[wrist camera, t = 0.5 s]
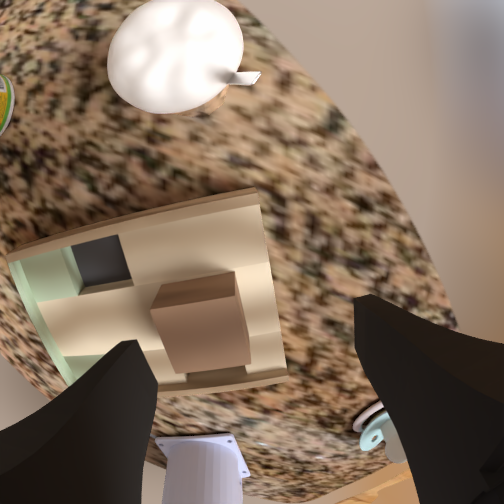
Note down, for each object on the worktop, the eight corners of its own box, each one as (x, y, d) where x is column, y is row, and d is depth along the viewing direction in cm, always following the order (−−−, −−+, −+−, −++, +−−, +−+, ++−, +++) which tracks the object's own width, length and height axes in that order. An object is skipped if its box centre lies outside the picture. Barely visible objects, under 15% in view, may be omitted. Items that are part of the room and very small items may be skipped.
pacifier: (339, 420, 26) (363, 439, 27) (355, 468, 20) (378, 482, 21) (402, 379, 24) (418, 404, 26) (429, 424, 18) (442, 443, 20)
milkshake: (222, 149, 17) (207, 152, 7) (146, 105, 15) (56, 70, 6) (266, 86, 15) (304, 19, 6) (189, 43, 14) (146, -47, 5)
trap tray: (284, 360, 22) (289, 381, 20) (85, 381, 22) (76, 398, 20) (254, 186, 17) (257, 192, 15) (22, 244, 18) (4, 255, 15)
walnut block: (248, 334, 19) (251, 363, 16) (182, 344, 19) (175, 373, 16) (234, 271, 18) (234, 295, 15) (161, 284, 18) (149, 309, 15)
